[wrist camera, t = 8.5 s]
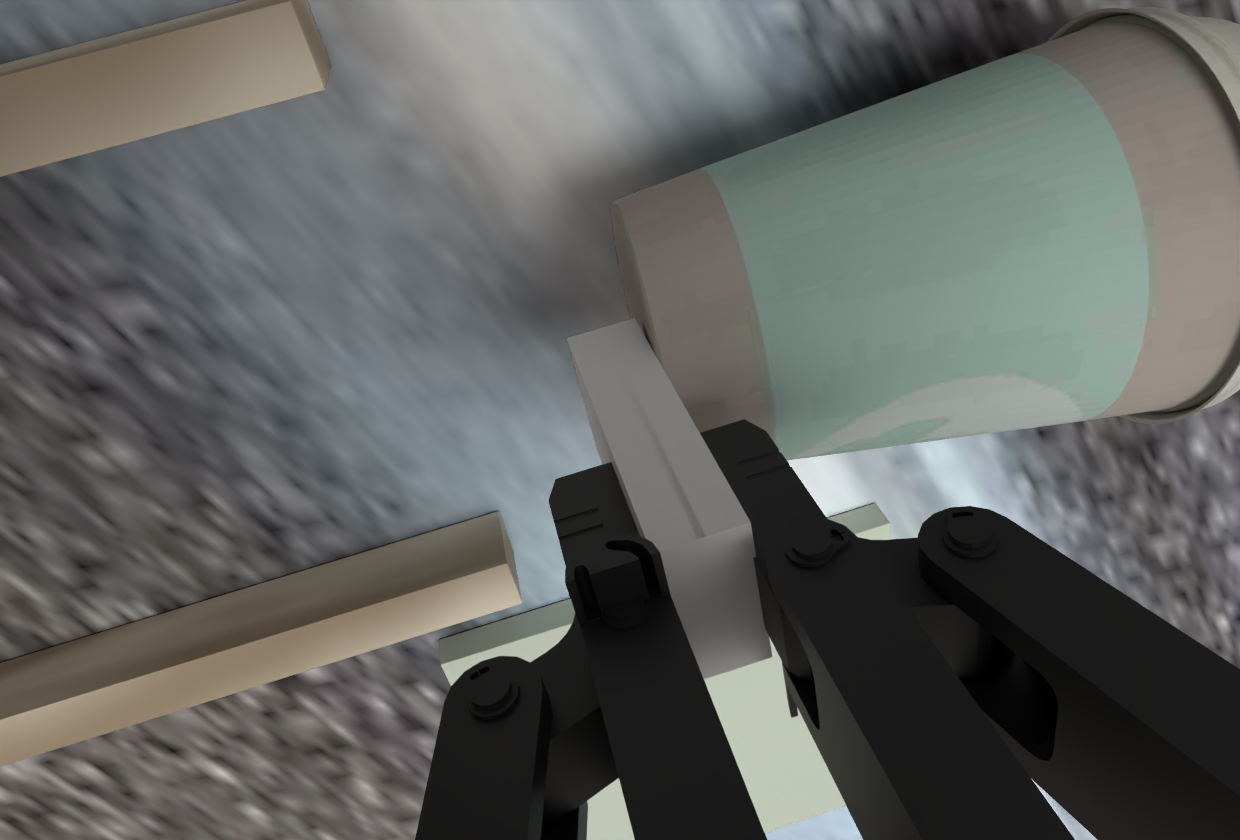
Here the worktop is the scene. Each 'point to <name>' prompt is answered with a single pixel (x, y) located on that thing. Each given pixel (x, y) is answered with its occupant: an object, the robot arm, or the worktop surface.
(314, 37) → the channel
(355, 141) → the worktop surface
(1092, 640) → the robot arm
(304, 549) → the worktop surface
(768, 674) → the pad
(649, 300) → the coffee cup
